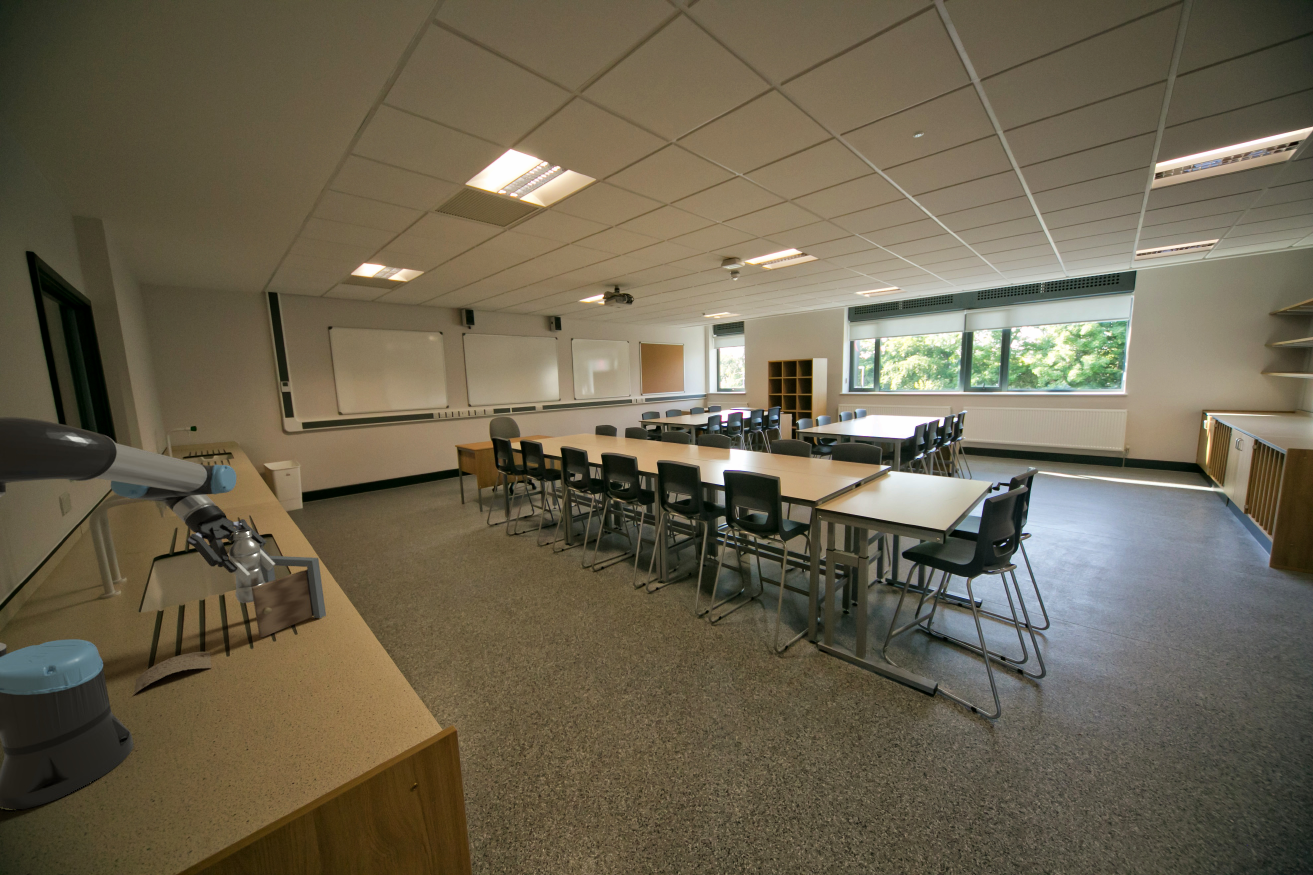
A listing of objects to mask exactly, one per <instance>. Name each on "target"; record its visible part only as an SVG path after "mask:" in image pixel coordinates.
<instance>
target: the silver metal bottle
mask: <svg viewBox="0 0 1313 875" xmlns="http://www.w3.org/2000/svg"><path fill="white" fill-rule="evenodd" d="M232 534H233V540H235V542H234V541H233V544H232V545H231V546H230V548H229V550H228V556H229V559H230V558H235V559H236V560H237V561H238V562H239V563H240V564H241V565H242V566H243V567H244V568H245V569H246V570H247V571H248V572H249V573H250V576H249V577H248V578H247V579H246V581H244V582H242V581H241V580H240V579H239V578H238V577H237V576H236V575H235V597H236V601H238V602H239V603H241V604H246V603H247V604H248V603H252V602H253V603H254V600H253V593H252V587H255V586H258V585H261V584H264V583H265V581H264V578H263V575H262V571H261V566H260V565H261V564H260V546H259V544H258V543H257V542H256V541H254V540H253V539H252V538H251V537H252V534H251V530H250V529H245V530H239V531H236V532H234V533H232Z"/></svg>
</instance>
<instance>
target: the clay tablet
mask: <svg viewBox="0 0 1313 875" xmlns="http://www.w3.org/2000/svg"><path fill="white" fill-rule="evenodd" d="M193 669H194V670H195V669H213V668H212V662H211V652H209V651H208V652H207V651H195V652H194V651H193V652H189V653H184V654H180V655H177V656H172V657H169V658H168V659H166V660H164V661H163V660H162V661H161V662H159V663H157V664H154V665H153V666H151V667H150V668H148V669H147V670H145V671H144V672H143V673H142V674H140V675H139V676H137V677H136V679H135V685H134V690H133V694H132V696H135V695H136V694H137V693H138V692H140V691H141V690H142V689H144V688H146V687H147V686H149V685H150V684H152V683H154V682H156V681H158V680H160V679H162V678H164V677H166V676H169V675H171V674H174V673H179V672H181V671H187V670H193Z"/></svg>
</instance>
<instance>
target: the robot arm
mask: <svg viewBox="0 0 1313 875" xmlns="http://www.w3.org/2000/svg"><path fill="white" fill-rule="evenodd" d="M94 479H99V480H104V481H110V488H111V491H112V492H113V493H114V494H115V495H117V496H120V497H124V498H127V499H133V500H135V499H136V500H147V501H155V502H161V503H164V504H165V505H166V506H167V507H168V508H169V509H170V510H171V511H172V512H173V513H174V514H175V515H176V516H177V517H178V518H179V519H180V520H181V521H182V522H184V524H185V526H187V527H188V529H190V530H191V531H192V532H193V533H192V534H190V535H189V537H188V539H187V540H186V543H187V544H189V545H191V546H192V547H194V548H195V549H196V552H198V553H199V555H200V556H201V557H202V558H203V559H204V561H205V562H206V563H208V565H209V566H210V567H211V568H212V567H216V566H217V567H218V568H222V567H223V568H224V569H226V571H228V572H229V573H231V574H232V573H233V574H234V575H235V577H236V576H237V577H238V578H239V579H240V580H241V581H242V582H244V581H246V579H247V578H248V577H249V576H250V573H249V572H248V571H247V570H246V569H245V568H244V567H243V566H242V565H241V564H240V563H239V562H238V561H237V560H236V559H235V558H230V556H229V553H228V552H227V549H226V548H225V545H224V542H223V541H222V540H228V541H230V542H231V541H232V542H233V543H234V542H235V540H233V533H234V532H236V531H239V530H245V529H250V530H251V534H252V537H251V538H252V539H253V540H254V541H256V542H257V543H258V544H259V546H260V563H261V564H262V565H263V566H264V567H265V568H266V569H267V570H268V571H269V570H271V569H272V568H273V567H274V566H276V565H275V563H274V562H273V561H272V560H271V559H270V558H269V556H270V554H269V553H268V551H267V550H265V549H264V546H265V545H266V544H267V542H268V541H267V540H266V539H265V538H264V537H262V536H261V535H260V534H259V533H257V531H256V530H254V528H252V527H251V525H248V523H247V520H246V519H244V518H241V519H240V520H239V521H233V520H231V519H229V518H227V515H226V513H225V512H224V510H222V509H221V508H220V507H219V506H218V505H216V503H215V502H214V501H213V500H212V498H210V497H209V496H208V495H219V494H225V493H229V492H231V491H233V489H235V487H236V484H237V473H236V471H235V469H234V468H233V467H231V466H230V465H227V464H214V465H208V464H207V465H206V464H202V463H197V462H193V461H189V460H184V459H182V458H181V459H180V458H176V457H173V456H169V455H164V454H160V453H157V452H154V451H153V452H152V451H149V450H145V449H141V448H137V447H132V446H129V445H125V444H121V443H117V442H116V441H114V440H113V439H112V438H111V437H109V435H108V436H107V435H105V434H102V433H98V432H95V431H90V430H87V429H82V428H79V427H75V426H71V425H67V424H63V423H58V422H52V421H46V420H42V419H35V418H27V417H18V416H16V417H15V416H0V498H1V497H3V496H5V495H6V493H7V492H6V491H7V490H6V488H7V486H6V484H7V483H16V482H17V483H18V482H19V483H20V482H31V481H32V482H33V481H46V480H47V481H48V480H69V481H77V482H84V481H85V482H86V481H91V480H94ZM206 540H207V541H206ZM105 675H106V674H105V670H104V661H103V658H102V657H101V656H100V653H99V650H98V648H97V646H96V645H95V644H94V643H92V642H91V641H89V640H85V639H79V638H77V639H76V638H75V639H57V640H51V641H46V642H42V643H41V644H37V645H35V644H34V645H33V644H32V645H29V646H26V647H23V648H19V649H16V650H14V651H11V652H9V653H7V644H5V643H3V642H0V742H1V746H2V748H3V753H4V757H3V761H2V764H1V768H0V807H3V808H9V809H22V810H26V809H31V808H35V807H39V806H41V805H45V804H47V803H50V802H53V801H55V800H58V799H60V798H64V797H65V795H66V796H68V795H70V794H72V793H74V792H76V791H78V790H80V789H82V788H84V787H86V786H88V785H89V783H90V782H92V781H93V782H95V781H97V780H99V779H100V778H102V777H103V776H105V775H106V774H108V773H110V771H112V770H113V769H115V768H116V767H117V766H119V765H120V764H121V763H123V761H124V760H126V758H127V757H128V756H129V755H130V753H131V752H132V751H133V748H134V742H133V737H132V733H131V730H129V729H128V728H127V727H126V726H125V725H124V724H123V723H122V722H121V721H120V719H119V718H118V717H116V715H114V714H113V712H112V708H111V704H110V698H109V693H108V692H109V691H108V687H107V682H106V676H105ZM98 778H99V779H98ZM96 779H97V780H96ZM94 780H95V781H94ZM93 782H92V783H93ZM87 784H88V785H87ZM90 784H91V783H90ZM85 785H86V786H85ZM83 786H84V787H83ZM81 787H82V788H81ZM79 788H80V789H79ZM77 789H78V790H77ZM75 790H76V791H75ZM73 791H74V792H73ZM71 792H72V793H71ZM67 794H68V795H67Z"/></svg>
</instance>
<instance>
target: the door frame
mask: <svg viewBox="0 0 1313 875" xmlns="http://www.w3.org/2000/svg"><path fill="white" fill-rule="evenodd" d="M269 558H270V559H271V560H272V561H273V562H274V563H275V565H274V566H284V567H301V568H306V570H308V577H309V585H310V592H311V599H312V606H313V613H314V616H313V619H314V618H321V619H322V617H323V616H324V617H326V616H327V612H326V604H325V598H324V590H323V582H322V576H321V569H320V560H319V557H312V556H311V557H310V556H309V557H307V556H287V555H283V556H282V555H269ZM260 564H261V563H260ZM260 566H261V571H262V575H263V578H264V581H265V583H267V582H270V581H273V580H276V575H275V568H274V566H273V568H272V569H271V570H269V571H268V570H267V569H266V568H265V567H264V566H263V565H262V564H261V565H260ZM324 617H323V618H324Z"/></svg>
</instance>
